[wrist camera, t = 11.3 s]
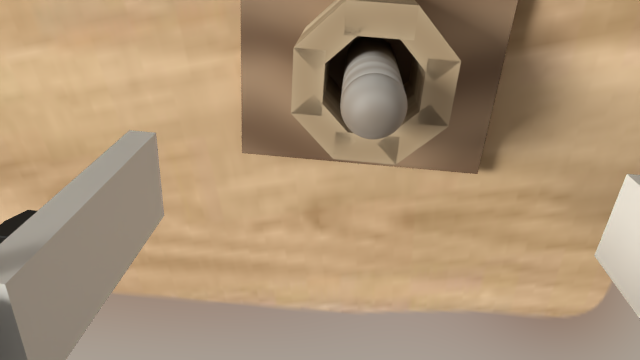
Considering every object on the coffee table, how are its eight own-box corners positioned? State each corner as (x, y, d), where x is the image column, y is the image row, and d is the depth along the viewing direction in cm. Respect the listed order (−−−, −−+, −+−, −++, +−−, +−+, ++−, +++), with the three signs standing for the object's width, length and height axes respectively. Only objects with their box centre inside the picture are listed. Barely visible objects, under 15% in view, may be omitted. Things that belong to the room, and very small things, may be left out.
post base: (245, -78, 28) (176, -85, 18) (523, -58, 28) (624, -53, 17) (246, 144, 35) (196, 237, 24) (472, 164, 34) (524, 269, 23)
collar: (307, -16, 28) (295, -5, 23) (450, -5, 28) (471, 9, 23) (301, 118, 32) (289, 155, 27) (426, 129, 32) (440, 168, 26)
